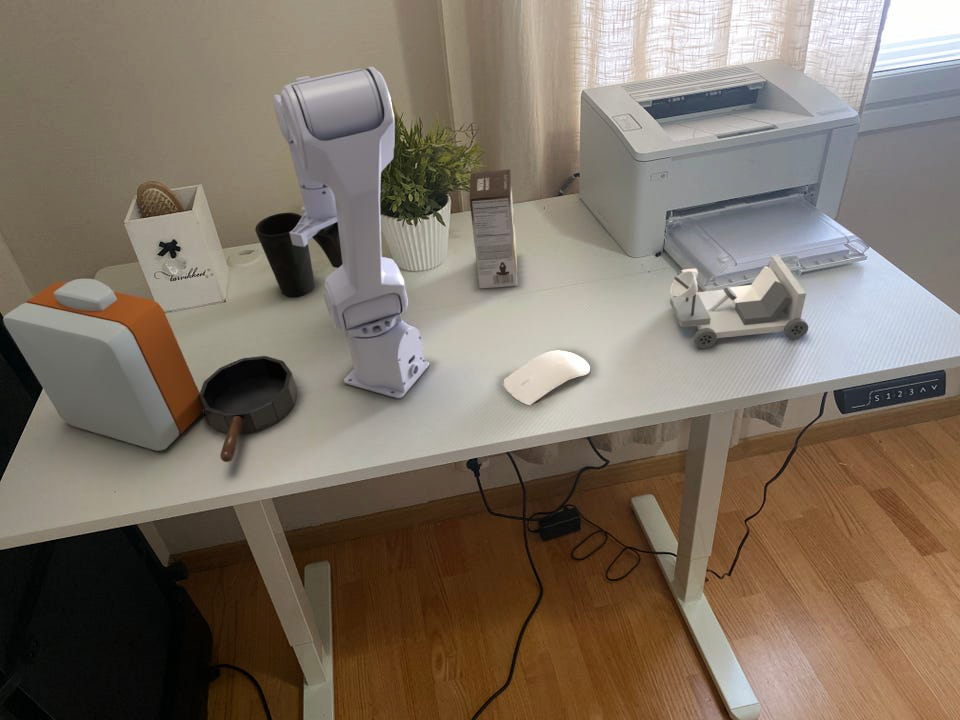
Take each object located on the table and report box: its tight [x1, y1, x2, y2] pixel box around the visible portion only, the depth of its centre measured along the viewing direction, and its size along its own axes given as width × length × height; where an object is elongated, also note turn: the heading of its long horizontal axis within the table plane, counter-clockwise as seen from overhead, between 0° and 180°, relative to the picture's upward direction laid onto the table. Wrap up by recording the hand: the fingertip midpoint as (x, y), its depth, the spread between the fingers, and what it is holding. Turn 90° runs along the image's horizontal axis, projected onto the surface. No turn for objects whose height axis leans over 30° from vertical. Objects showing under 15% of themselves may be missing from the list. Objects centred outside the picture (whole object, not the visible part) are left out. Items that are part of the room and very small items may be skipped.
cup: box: [254, 212, 316, 298], centre depth 119 cm, size 8×8×12 cm
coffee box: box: [469, 168, 518, 289], centre depth 116 cm, size 9×6×16 cm
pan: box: [198, 355, 298, 463], centre depth 96 cm, size 19×12×4 cm, turn 3°
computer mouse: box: [502, 350, 591, 406], centre depth 98 cm, size 7×12×2 cm, turn 121°
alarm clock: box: [2, 278, 204, 452], centre depth 94 cm, size 18×9×21 cm, turn 67°
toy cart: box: [669, 254, 809, 349], centre depth 102 cm, size 18×10×12 cm
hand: (340, 265), depth 109 cm, fingers closed
